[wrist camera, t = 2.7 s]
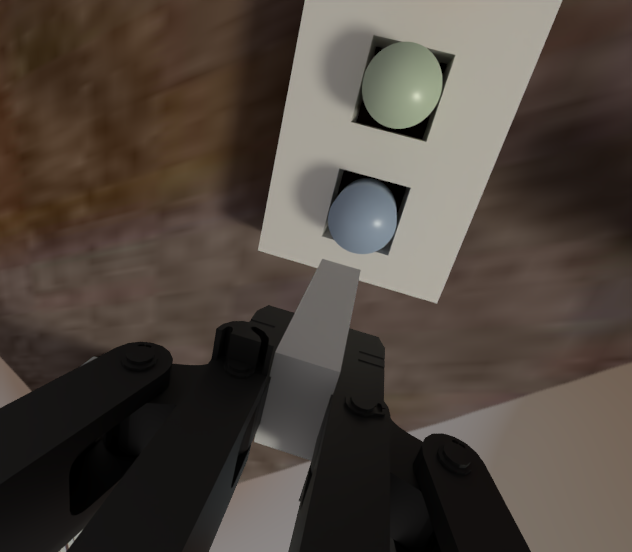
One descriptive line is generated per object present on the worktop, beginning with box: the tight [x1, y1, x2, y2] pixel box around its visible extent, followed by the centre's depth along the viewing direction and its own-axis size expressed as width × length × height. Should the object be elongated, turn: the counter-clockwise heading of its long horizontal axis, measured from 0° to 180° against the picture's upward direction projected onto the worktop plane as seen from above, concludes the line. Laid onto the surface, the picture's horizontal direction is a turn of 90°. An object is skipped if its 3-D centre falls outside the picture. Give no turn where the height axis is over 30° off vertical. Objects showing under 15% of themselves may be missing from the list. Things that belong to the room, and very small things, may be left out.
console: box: [258, 0, 562, 303], centre depth 26 cm, size 26×14×4 cm, turn 167°
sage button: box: [362, 42, 442, 129], centre depth 24 cm, size 4×4×4 cm
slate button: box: [328, 178, 397, 254], centre depth 27 cm, size 4×4×4 cm
